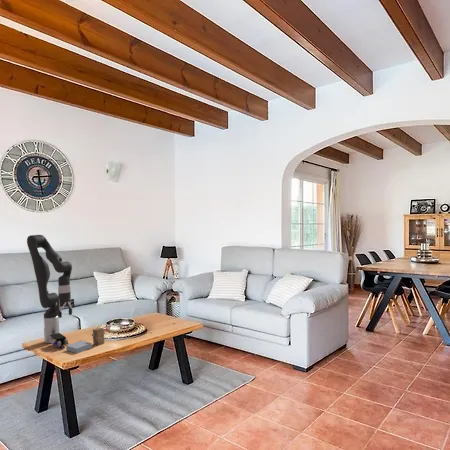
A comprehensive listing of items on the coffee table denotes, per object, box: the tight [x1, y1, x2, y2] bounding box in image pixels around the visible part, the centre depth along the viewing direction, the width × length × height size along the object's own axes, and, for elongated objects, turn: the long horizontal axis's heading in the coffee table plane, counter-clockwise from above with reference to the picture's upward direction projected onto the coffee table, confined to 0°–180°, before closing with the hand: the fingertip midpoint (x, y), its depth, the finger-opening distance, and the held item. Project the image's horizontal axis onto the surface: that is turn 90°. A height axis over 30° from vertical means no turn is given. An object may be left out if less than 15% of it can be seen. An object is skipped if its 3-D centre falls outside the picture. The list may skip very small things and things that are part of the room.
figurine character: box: [50, 332, 69, 350], centre depth 253 cm, size 7×8×15 cm
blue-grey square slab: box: [65, 340, 93, 354], centre depth 246 cm, size 11×11×3 cm
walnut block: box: [92, 327, 105, 346], centre depth 255 cm, size 5×5×10 cm
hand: (65, 316), depth 255 cm, fingers open, 8 cm apart
